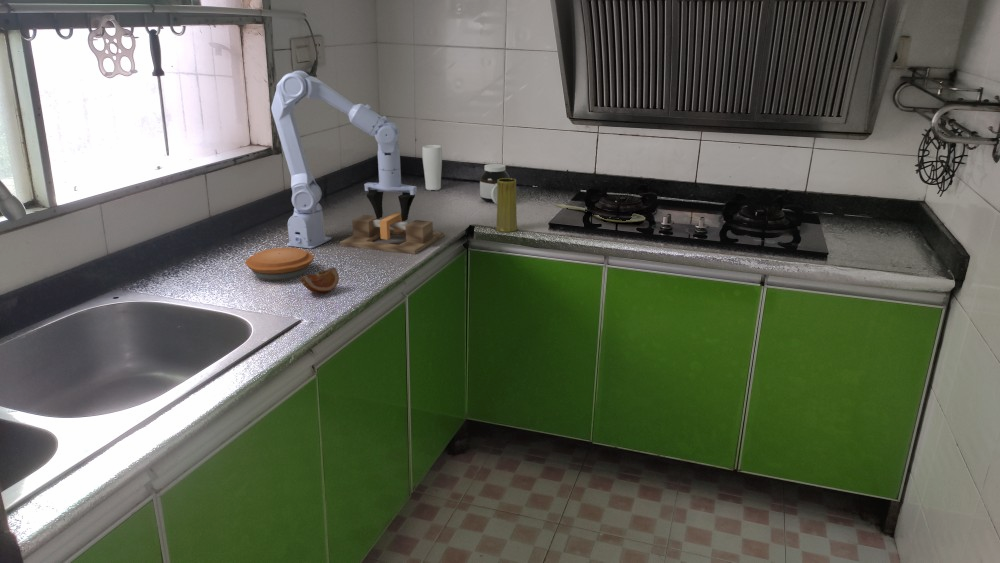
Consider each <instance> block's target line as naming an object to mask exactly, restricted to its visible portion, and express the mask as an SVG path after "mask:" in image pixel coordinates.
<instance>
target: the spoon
mask: <svg viewBox="0 0 1000 563" xmlns="http://www.w3.org/2000/svg"><path fill="white" fill-rule="evenodd" d="M555 207H557V208H561V209H566V208H568V210H579V211H584V212H586V211H585V207H581V206H574V205H568V204H563V203H559V204H558V203H556V204H555ZM593 216H594V217H595V218H598V219H600V220H602V221H603V220H604V221H607V222H610V223H635V222H644V221H645V220H646V217H645V216H644V215H641V214H637V213H633V214H632V216H631V217H632V218H631V219H630V220H626V221H622V220H620V219H619V220H615V219H611V218H607V219H604V218H602V217H600V216H599V215H593Z"/></svg>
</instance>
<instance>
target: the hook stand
mask: <svg viewBox="0 0 1000 563" xmlns="http://www.w3.org/2000/svg"><path fill="white" fill-rule="evenodd" d="M380 220H381V218H379V219H377V218H376V215H369V214H363V215H360V216H359V217H358V216H357V217H356V218H353V219H352V220H351V221H352V224H351V225H352V235H351V236H349V237H346V238H344V239H343V240H341V241H339V246H342V247H350V248H358V249H366V250H367V249H368V250H375V251H384V252H392V253H402V254H409V255H416V254H417V253H419V252H420V251H422V250H424V249H426V248H427V247H428V246H430V245H432V244H433V243H435V242H436V241H438V240H439V239H441V238H443V237H444V236H445V232H444V231H435V230H433V229H434V228H433V224H434V223H433V221H430V220H421V219H420V220H419V219H415V220H412V221H411V222H406V221H403V222H395V223H393V224H391V225H389V226H390V234H392V235H400V236H401V235H402V236H403V235H404V236H405V241H404V242H402V243H400V244H394V243H384V242H378V241H377V242H376V240H378V239H380V238H381V235H380ZM394 229H401V230H403V231H402V232H394Z"/></svg>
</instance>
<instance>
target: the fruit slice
mask: <svg viewBox="0 0 1000 563" xmlns="http://www.w3.org/2000/svg"><path fill="white" fill-rule="evenodd" d="M339 280H340V276H339V273H338V271H337V268H336V267H332V268H327V269H324V270H320V271H317V272H316V273H311V274H307V275H302V276H301V278H300V282H301V284H302V285H303V286H304V287H305V288H306V289H307V290H309V292H311V293H314V294H319V295H325V294H328V293H330V292H333V291H334V289H335V288H336V287H337V285H338V284H339Z"/></svg>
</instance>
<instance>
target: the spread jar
mask: <svg viewBox="0 0 1000 563" xmlns="http://www.w3.org/2000/svg"><path fill="white" fill-rule="evenodd" d="M501 178H510V174H508V172H507V171H506V165H505V164H502V163H489V164H485V165H484V172H483V173H482V174H481V176H480V179H479V194H480V198H481V200H482V201H483V202H485V203H489V204H496V205H497V186H498V184H497V180H498V179H501Z"/></svg>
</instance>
